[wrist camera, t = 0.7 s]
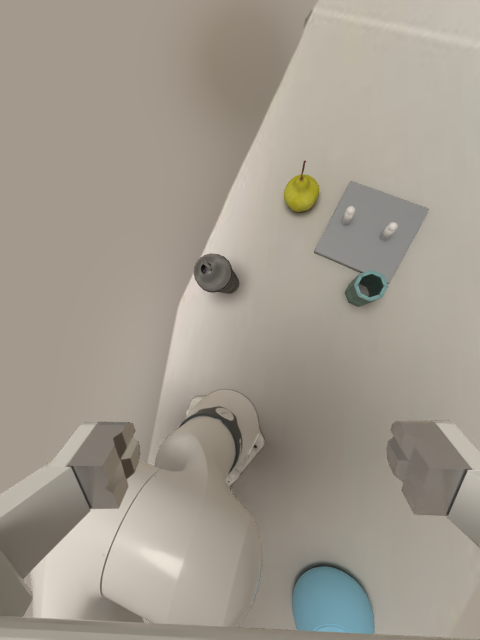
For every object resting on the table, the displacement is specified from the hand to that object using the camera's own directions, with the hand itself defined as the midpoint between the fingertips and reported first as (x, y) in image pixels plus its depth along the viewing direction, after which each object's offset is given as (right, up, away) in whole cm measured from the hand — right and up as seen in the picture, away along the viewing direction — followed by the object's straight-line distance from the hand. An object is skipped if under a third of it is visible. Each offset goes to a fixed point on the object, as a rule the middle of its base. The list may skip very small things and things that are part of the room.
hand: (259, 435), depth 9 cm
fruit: (+13, +30, +51) cm, 60 cm away
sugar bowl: (+18, -53, +46) cm, 73 cm away
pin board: (+26, +22, +47) cm, 58 cm away
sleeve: (+24, +9, +47) cm, 54 cm away
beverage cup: (-3, +12, +54) cm, 55 cm away
